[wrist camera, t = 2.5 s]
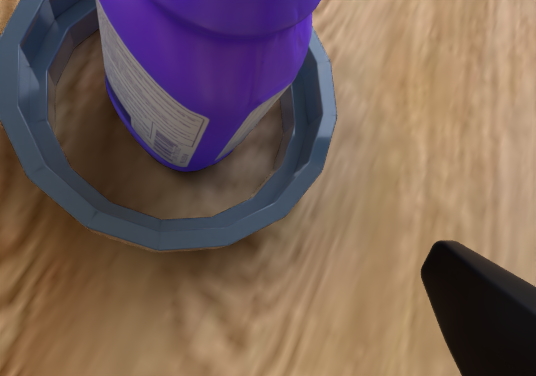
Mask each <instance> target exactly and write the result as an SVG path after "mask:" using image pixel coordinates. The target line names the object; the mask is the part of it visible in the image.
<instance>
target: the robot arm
mask: <svg viewBox="0 0 536 376" xmlns="http://www.w3.org/2000/svg"><path fill="white" fill-rule="evenodd" d="M421 278H422V281H423V284H424V287H425V289H426V292H427V295H428V297H429V300H430V302H431V305H432V308H433V310H434V313H435V316H436V318H437V321H438V324H439V326H440V329H441V332H442V334H443V337H444V339H445V341H446V344H447V346H448V348H449V350H450V352H451V354H452V356H453V359H454V361H455V363H456V365H457V367H458V369H459V371H460V373H461V375H462V376H536V287H535V286H533V285H531V284H530V283H528V282H526V281H524V280H523V279H521V278H519V277H517V276H516V275H514V274H512V273H511V272H509V271H507V270H505V269H504V268H502V267H500V266H498V265H497V264H495V263H493V262H491V261H490V260H488V259H486V258H485V257H483V256H481V255H479V254H478V253H476V252H474V251H472V250H471V249H469V248H467V247H465V246H464V245H462V244H460V243H459V242H456V241H452V240H446V241H437V242H436V243H434V245H433V246H432V248H431V250H430V252H429V254H428V256H427V258H426V260H425V262H424V264H423V266H422V268H421Z"/></svg>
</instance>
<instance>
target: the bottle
mask: <svg viewBox="0 0 536 376" xmlns="http://www.w3.org/2000/svg"><path fill="white" fill-rule="evenodd" d="M320 1H321V0H96V5H97V13H98V20H99V28H100V35H101V43H102V52H103V60H104V67H105V83H106V88H107V91H108V94H109V97H110V99H111V101H112V104H113V106H114V108H115V110H116V111H117V113H118V115H119V117H120V119H121V120H122V122H123V123H124V125H125V126H126V128H127V129H128V130H129V132H130V133H131V134H132V136H133V137H134V138H135V139H136V140H137V142H138V143H139V144H140V145H141V146H142V147H143V148H144V149H145V150H146V151H147V152H148V153H149V154H150V155H151V156H152V157H154V158H155V159H156V160H157V161H159V162H160V163H162V164H163V165H165V166H167V167H169V168H171V169H174V170H177V171H183V172H188V171H197V170H201V169H203V168H205V167H207V166H209V165H214V164H216V163H217V162H219V161H220V160H222V159H223V158H224V157H226V156H227V155H228V154H230V153H231V152H232V150H233V149H234V148H235V147H236V146H237V145H238V144H240V143H241V142H242V141H243V140H244V139H245V137H246V136H247V135H248V134H249V133H250V132H251V130H252V129H253V128H254V127H255V126H256V125H257V123H258V122H259V121H260V120H261V119H262V117H263V116H264V115H265V114H266V113H267V111H268V110H269V109H270V108H271V107H272V106H273V104H274V103H275V102H276V101H277V100H278V99H279V97H280V96H281V95H282V94H283V93H284V92H285V90H286V89H287V88H288V87H289V86H290V85H291V83H292V82H293V81H294V79H295V78H296V76H297V73H298V71H299V70H300V68H301V66H302V64H303V61H304V59H305V57H306V54H307V51H308V46H309V43H310V39H311V33H312V12H313V11H314V9H315V8H316V7H317V5H318V4H319V2H320Z"/></svg>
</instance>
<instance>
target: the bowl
mask: <svg viewBox="0 0 536 376" xmlns="http://www.w3.org/2000/svg"><path fill="white" fill-rule="evenodd" d="M98 29H99V20H98V13H97V5H96V0H20V1H19V3H18V5H17V7H16V9H15V10H14V12H13V14H12V16H11V18H10V19H9V21H8V23H7V25H6V27H5V28H4V30H3V32H2V34H1V36H0V121H1V123H2V125H3V127H4V129H5V131H6V133H7V136H8V138H9V140H10V142H11V144H12V146H13V148H14V150H15V153H16V155H17V157H18V159H19V161H20V163H21V165H22V167H23V170H24V172H25V174H26V176H27V177H28V178H29V179H30V180H31V181H32V182H33V183H34V184H35V185H36V186H37V187H38V188H40V189H41V190H42V191H43V192H44V193H45V194H47V195H48V196H49V197H50V198H51V199H52V200H54V201H55V202H56V203H57V204H58V205H59V206H61V207H62V208H63V209H64V210H65V211H66V212H68V213H69V214H70V215H71V216H72V217H73V218H75V219H76V220H77V221H78V222H79V223H80V224H82V225H83V226H84V227H85V228H86V229H87V230H89V231H91V232H92V233H95V234H98V235H101V236H104V237H107V238H111V239H114V240H117V241H120V242H123V243H126V244H129V245H132V246H135V247H138V248H141V249H144V250H147V251H151V252H154V253H166V252H180V251H193V250H207V249H220V248H223V247H226V246H229V245H231V244H233V243H235V242H237V241H239V240H241V239H243V238H245V237H247V236H249V235H251V234H253V233H255V232H257V231H259V230H261V229H262V228H264V227H266V226H268V225H270V224H272V223H274V222H276V221H278V220H280V219H282V218H284V217H285V216H286V215H287V214H288V213H289V212H290V211H291V209H292V208H293V207H294V206H295V204H296V203H297V202H298V201H299V199H300V198H301V197H302V196H303V195H304V193H305V192H306V191H307V190H308V188H309V187H310V186H311V185H312V183H313V182H314V181H315V180H316V179H317V177H318V176H319V175H320V174H321V172H322V170H323V167H324V163H325V160H326V156H327V153H328V149H329V145H330V142H331V138H332V134H333V131H334V127H335V124H336V120H337V110H336V102H335V93H334V85H333V77H332V68H331V62H330V59H329V57H328V56H327V54H326V52H325V50H324V48H323V46H322V44H321V42H320V40H319V38H318V36H317V34H316V32H315V30H314V28H313V26H312V33H311V39H310V43H309V46H308V51H307V54H306V57H305V59H304V61H303V64H302V66H301V68H300V70H299V71H298V73H297V76H296V78H295V79H294V81H293V82H292V83H291V85H290V86H289V87H288V88H287V89H286V90H285V92H284V93H283V94H282V95H281V96H280V104H281V114H282V124H283V138H282V141H281V144H280V147H279V150H278V154H277V157H276V160H275V163H274V166H273V170H272V172H271V173H270V175H269V176H268V177H267V178H266V179H265V180H264V181H263V183H262V184H261V185H260V186H259V187H258V188H257V189H256V191H255V192H254V193H253V194H252V195H251V196H250V198H249V199H248V200H246V201H244V202H242V203H240V204H238V205H236V206H234V207H232V208H229V209H227V210H225V211H223V212H221V213H219V214H217V215H215V216H213V217H202V218H183V219H163V220H161V219H158V218H155V217H152V216H149V215H146V214H143V213H140V212H138V211H135V210H132V209H129V208H126V207H123V206H120V205H117V204H114V203H111V202H110V201H109V200H108V199H106V198H105V197H104V196H103V195H102V194H101V193H99V192H98V191H97V190H96V189H95V188H94V187H93V186H91V185H90V184H89V183H88V182H87V181H86V180H85V179H83V178H82V177H81V176H80V175H79V174H78V173H77V172H75V171H74V170H73V169H72V167H71V165H70V163H69V161H68V159H67V157H66V155H65V153H64V151H63V148H62V146H61V144H60V142H59V140H58V138H57V136H56V134H55V86H56V84H57V82H58V80H59V78H60V76H61V74H62V72H63V70H64V68H65V66H66V64H67V62H68V60H69V58H70V56H71V54H72V52H73V50H74V48H75V47H76V46H77V45H79V44H80V43H81V42H82V41H84V40H85V39H86V38H87V37H89V36H90V35H91V34H92V33H94V32H95V31H96V30H98Z"/></svg>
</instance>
